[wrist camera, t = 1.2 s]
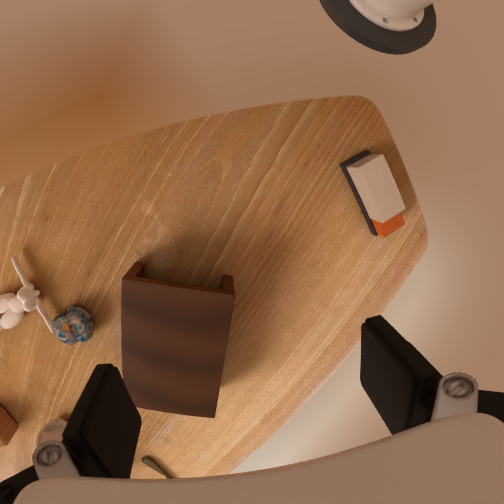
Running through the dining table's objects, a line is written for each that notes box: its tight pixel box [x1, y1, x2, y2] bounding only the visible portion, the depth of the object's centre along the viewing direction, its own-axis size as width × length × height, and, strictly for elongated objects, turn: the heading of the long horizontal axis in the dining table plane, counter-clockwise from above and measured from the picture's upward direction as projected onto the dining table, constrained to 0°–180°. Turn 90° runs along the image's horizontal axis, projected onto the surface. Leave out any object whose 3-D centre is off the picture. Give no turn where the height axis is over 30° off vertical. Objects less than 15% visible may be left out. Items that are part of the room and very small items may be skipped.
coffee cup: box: [36, 419, 68, 447], centre depth 40 cm, size 10×10×15 cm
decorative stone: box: [52, 306, 94, 345], centre depth 36 cm, size 6×4×5 cm
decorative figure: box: [0, 256, 53, 333], centre depth 35 cm, size 4×12×18 cm
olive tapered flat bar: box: [141, 456, 172, 479], centre depth 47 cm, size 12×2×1 cm, turn 29°
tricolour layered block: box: [340, 150, 406, 237], centre depth 35 cm, size 10×4×5 cm, turn 30°
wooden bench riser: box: [121, 262, 235, 418], centre depth 37 cm, size 18×12×6 cm, turn 170°
